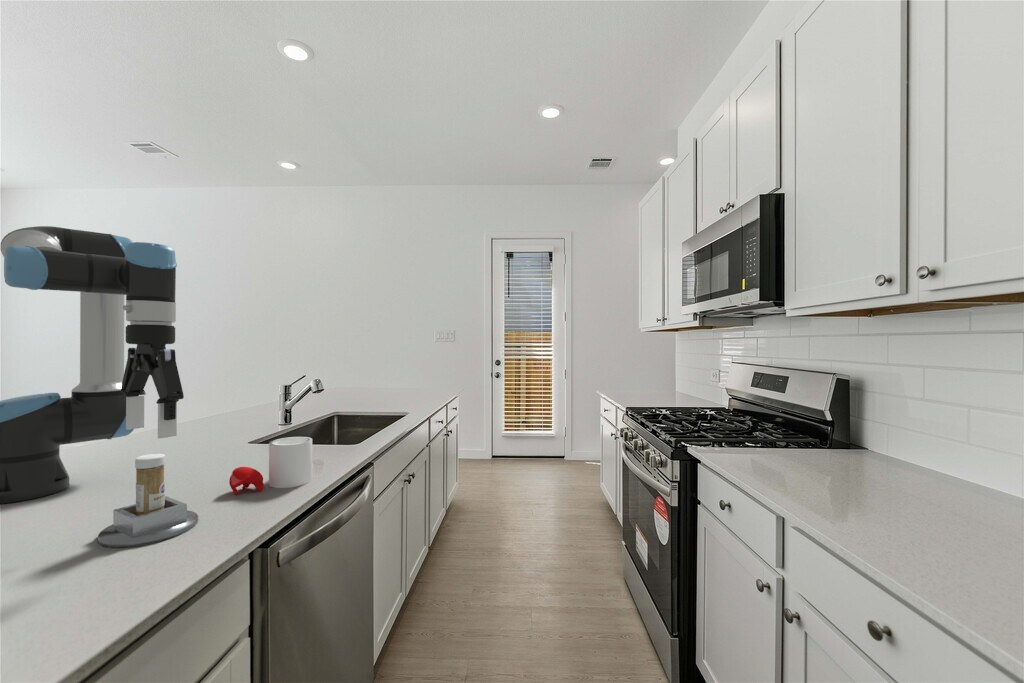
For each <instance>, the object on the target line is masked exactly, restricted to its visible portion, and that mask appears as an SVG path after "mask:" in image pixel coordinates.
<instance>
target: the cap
mask: <svg viewBox="0 0 1024 683" xmlns="http://www.w3.org/2000/svg"><path fill="white" fill-rule="evenodd" d="M228 483H229V487H230V489H231V490H232V492H233V493H234V495H235V496H237V495H239V491H238V489H237V488H238V487H240V486H242V487H241V489H242V490H245V489H247V488H249V487H250V485H253V486H254V487H255V488H256V489H257V491H259V492H263V491H264V489H265V485H264V477H263V475H262V473H261V472H260V471H258V470H257V469H256V468H252V467H249V466H240V467H239V466H238V467H236V468H234V469H233V471H232V472H231V475H230V477H229V480H228Z"/></svg>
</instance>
